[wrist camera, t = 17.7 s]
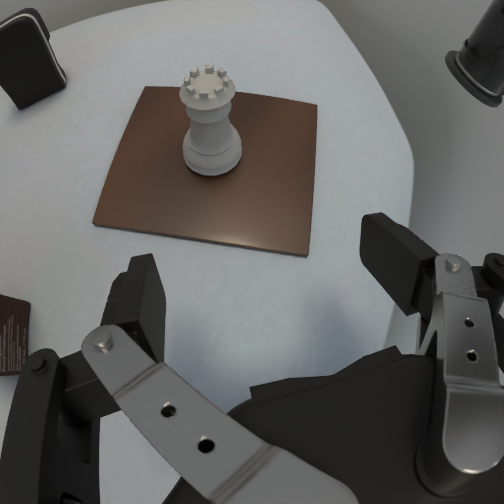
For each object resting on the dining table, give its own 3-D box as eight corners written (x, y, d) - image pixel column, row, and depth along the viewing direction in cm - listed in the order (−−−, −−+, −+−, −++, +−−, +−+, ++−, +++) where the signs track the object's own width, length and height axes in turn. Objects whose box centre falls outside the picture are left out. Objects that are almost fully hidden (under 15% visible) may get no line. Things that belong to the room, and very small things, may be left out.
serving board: (316, 108, 25) (317, 104, 25) (307, 257, 21) (308, 255, 21) (146, 89, 25) (145, 86, 24) (94, 225, 21) (91, 223, 21)
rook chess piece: (253, 162, 22) (262, 88, 15) (200, 189, 22) (186, 118, 14) (224, 123, 23) (223, 48, 16) (174, 146, 23) (155, 73, 15)
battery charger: (70, 68, 26) (38, -3, 15) (67, 88, 25) (29, 12, 14) (22, 92, 25) (-17, 30, 14) (17, 112, 24) (-29, 48, 13)
